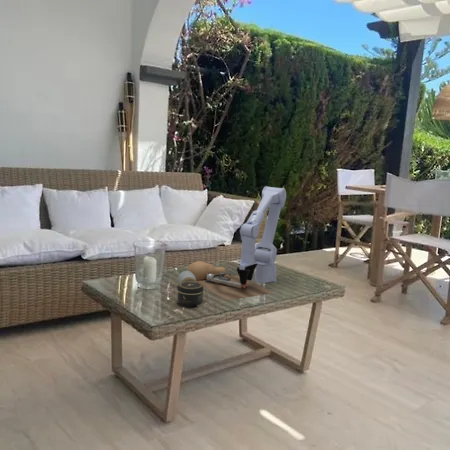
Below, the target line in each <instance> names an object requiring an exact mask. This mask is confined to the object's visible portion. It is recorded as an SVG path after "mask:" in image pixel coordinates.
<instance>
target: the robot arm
mask: <svg viewBox="0 0 450 450" xmlns="http://www.w3.org/2000/svg"><path fill="white" fill-rule="evenodd" d="M286 199H287V191H286V189H285V188H284V187H275V186H274V187H273V186H272V187H271V186H267V185H265V186H264V187H263V189H262V191H261V200H260V202H259V205H258V206H257V208H256V210H253V211H252V212H251V214H250V216H249V218H248V219H247V221H246V222H244V223H243V224H242V225H241V226H240V229H239V234H240V241H241V252H240V253H241V255H240V259H238V262H237V263H239V267H237V268H236V272H237V274H238V275H239V278H240V283H241V284H242V285H246V282H247V280H249V281H252V279H253V277H254V280H255V282H257V283H263V284H267V283H271V282H274V283H277V284H278V282H277V272H278V269H277V265H276V263H275V262H276V261H277V260H276V259H277V252H278V249H277V248H276V246H275V245H274V244H273V243H274V239H275V236H276V231H277V226H278V223H279V218H280V214H281V210H282V209H283V208H285V204H286ZM267 210H268V215H267V218H266V222H265V226H264V229H263V234H262V238H261V241H260V242H257V243H256V241H257V240H256V238H258V236H259V232H260V229H261V227H260V226H261V225H262V223H263V221H264V220H265V213H266V212H267ZM254 272H255V274H254Z"/></svg>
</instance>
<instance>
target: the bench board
mask: <svg viewBox="0 0 450 450" xmlns="http://www.w3.org/2000/svg"><path fill="white" fill-rule="evenodd" d="M226 274H229V275H230V276H231V279H230V280H229V281H232V282H237V283H240V278H239V274H238V275H232V273H231V272H229V271H227V272H224V273H219V275H218V277H217V278H218V279H219V278H220V277H224V275H226ZM196 281H197V282H198V283H201V284H202V285H203V288H205V289H206V290H208V291H210V292H211V293H213V294H215V295H217V296H219V297H220V298H222V299H224V300H226V301H231V300H232V301H233V300H237V299H238V300H239V299H244V298H250V297H257V296H258V297H259V296H262V295H264V296H265V295H269V294H270V295H271V294H275V292H274V291H272V290H270V289H268V288H266V287H263V286H262V285H260V284H257V283H256V282H253V281H252V280H247V289H241V287H236V286H232V285H227V284H222V283H218V282H208V281H206V279H203V280H196Z"/></svg>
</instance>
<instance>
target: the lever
mask: <svg viewBox="0 0 450 450" xmlns="http://www.w3.org/2000/svg"><path fill="white" fill-rule="evenodd" d="M218 278H219V277H215V276H214V274H212V273H207V276H206V279H205V280H206V281H208V282H218V283H222V284H227V285H232V286H236V287H241V289H247V282H246V285H242V284H241V283H237V282H232V281H229V278H224V277H220V278H219V279H218Z"/></svg>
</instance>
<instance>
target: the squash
mask: <svg viewBox="0 0 450 450" xmlns="http://www.w3.org/2000/svg"><path fill="white" fill-rule="evenodd" d="M186 271H190V272H192V273H193V274H194V276H195V279H196V281H198V280H206V276H207V273H212V274H214V277H215V276H219V273H224V272H226V267H223V266H215V265H213V264H211V263H208V262H205V261H201V260H197V261H195V262H192V263H191V264H189V265H187V269H186Z"/></svg>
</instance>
